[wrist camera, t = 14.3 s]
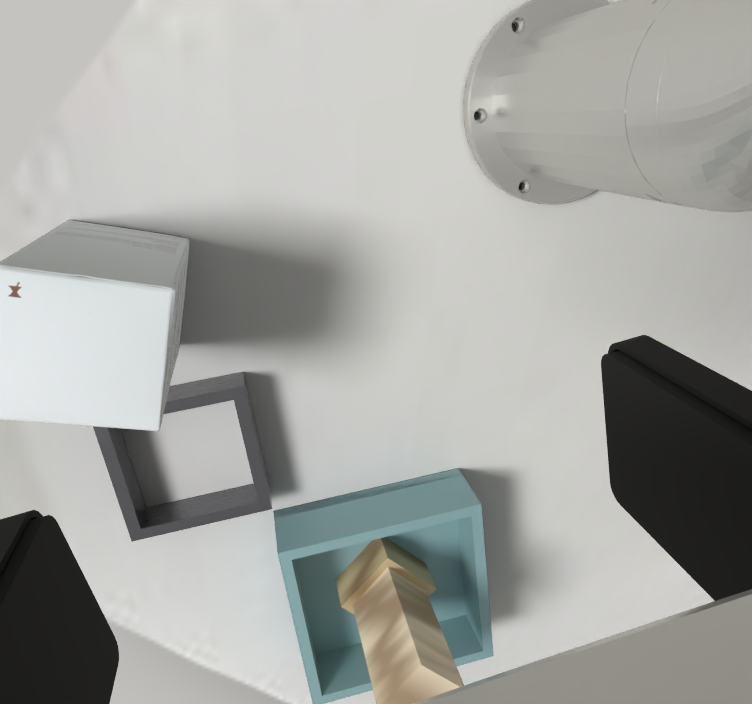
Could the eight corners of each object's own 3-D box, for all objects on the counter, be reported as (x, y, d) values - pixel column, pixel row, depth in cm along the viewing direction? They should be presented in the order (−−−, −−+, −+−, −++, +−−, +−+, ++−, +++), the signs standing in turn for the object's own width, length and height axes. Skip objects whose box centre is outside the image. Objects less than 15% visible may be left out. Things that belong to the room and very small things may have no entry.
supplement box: (60, 333, 39) (-14, 421, 28) (66, 216, 37) (-11, 259, 25) (181, 348, 41) (160, 436, 30) (194, 237, 39) (177, 286, 27)
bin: (458, 468, 49) (481, 504, 44) (471, 610, 54) (493, 655, 50) (273, 511, 47) (277, 553, 42) (306, 655, 52) (313, 706, 48)
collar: (243, 372, 43) (243, 386, 40) (270, 489, 46) (271, 508, 44) (98, 400, 41) (89, 416, 39) (137, 519, 45) (132, 541, 42)
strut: (379, 533, 48) (421, 654, 37) (425, 563, 50) (478, 687, 39) (335, 579, 49) (364, 712, 38) (382, 607, 51) (423, 741, 40)
